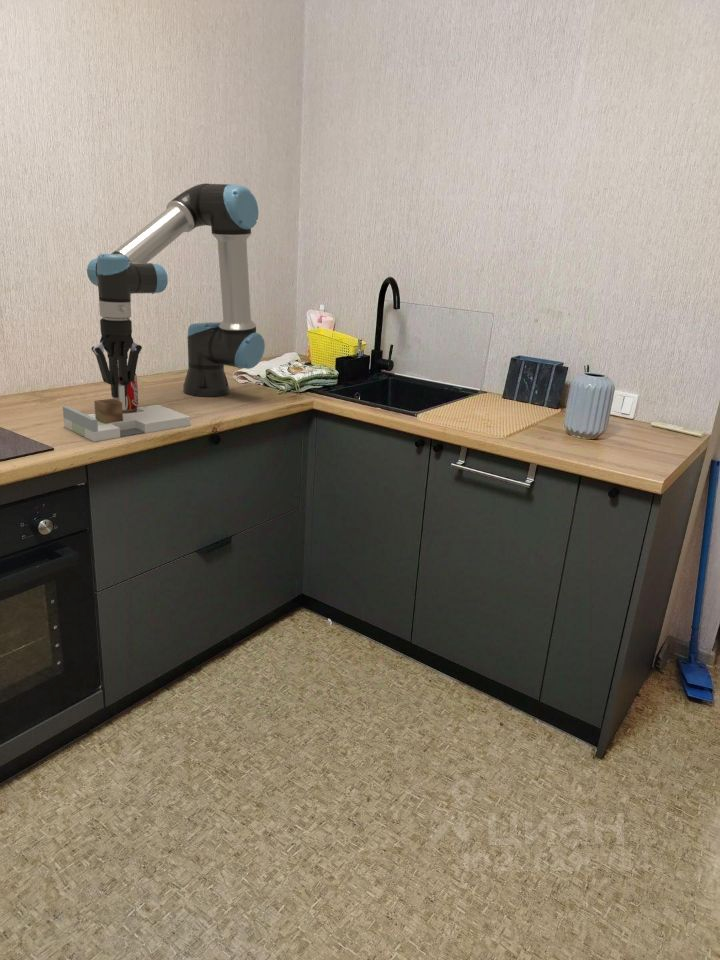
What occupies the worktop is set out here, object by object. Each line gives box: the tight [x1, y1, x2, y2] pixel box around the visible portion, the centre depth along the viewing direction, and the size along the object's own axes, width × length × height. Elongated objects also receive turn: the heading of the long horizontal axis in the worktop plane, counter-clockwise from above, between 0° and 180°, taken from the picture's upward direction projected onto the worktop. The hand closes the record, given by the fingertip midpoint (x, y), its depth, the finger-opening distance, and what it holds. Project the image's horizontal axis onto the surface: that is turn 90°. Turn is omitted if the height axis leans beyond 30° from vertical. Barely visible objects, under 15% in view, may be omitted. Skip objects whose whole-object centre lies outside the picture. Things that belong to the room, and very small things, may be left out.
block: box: [93, 398, 124, 424], centre depth 171 cm, size 5×5×5 cm
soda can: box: [112, 371, 139, 413], centre depth 190 cm, size 7×7×12 cm
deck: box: [62, 404, 191, 443], centre depth 176 cm, size 28×16×6 cm, turn 138°
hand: (120, 408), depth 173 cm, fingers closed
